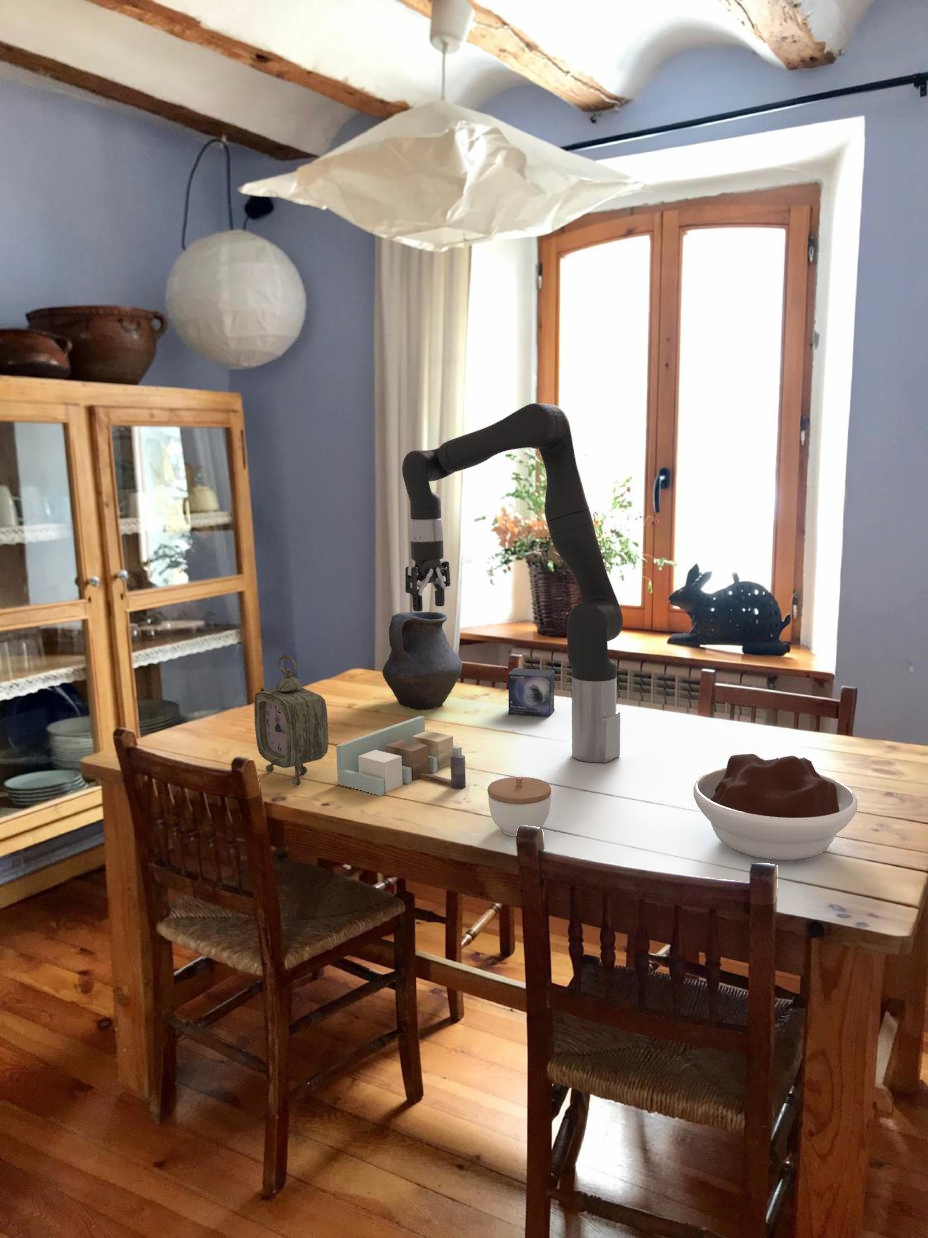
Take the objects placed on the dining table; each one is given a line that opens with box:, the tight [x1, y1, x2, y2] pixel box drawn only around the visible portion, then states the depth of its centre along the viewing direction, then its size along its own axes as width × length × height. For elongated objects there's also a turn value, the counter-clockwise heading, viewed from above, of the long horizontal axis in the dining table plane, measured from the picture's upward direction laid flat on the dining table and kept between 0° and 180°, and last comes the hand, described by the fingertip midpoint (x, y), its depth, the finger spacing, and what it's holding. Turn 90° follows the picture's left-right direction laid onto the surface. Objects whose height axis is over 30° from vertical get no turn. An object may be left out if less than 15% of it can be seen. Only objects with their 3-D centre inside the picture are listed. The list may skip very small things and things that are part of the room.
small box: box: [507, 667, 555, 718], centre depth 236 cm, size 11×6×10 cm, turn 73°
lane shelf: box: [335, 715, 463, 797], centre depth 194 cm, size 11×25×8 cm, turn 142°
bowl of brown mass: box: [692, 753, 858, 861], centre depth 154 cm, size 25×25×15 cm
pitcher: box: [381, 611, 463, 711], centre depth 243 cm, size 21×22×25 cm
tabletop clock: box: [253, 654, 329, 786], centre depth 191 cm, size 14×9×25 cm, turn 40°
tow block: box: [386, 740, 467, 790], centre depth 190 cm, size 18×5×6 cm, turn 52°
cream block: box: [358, 750, 403, 793], centre depth 187 cm, size 7×5×6 cm
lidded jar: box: [487, 776, 552, 838], centre depth 163 cm, size 11×11×9 cm
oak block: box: [412, 730, 454, 771], centre depth 199 cm, size 7×5×6 cm
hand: (429, 608), depth 222 cm, fingers open, 8 cm apart
